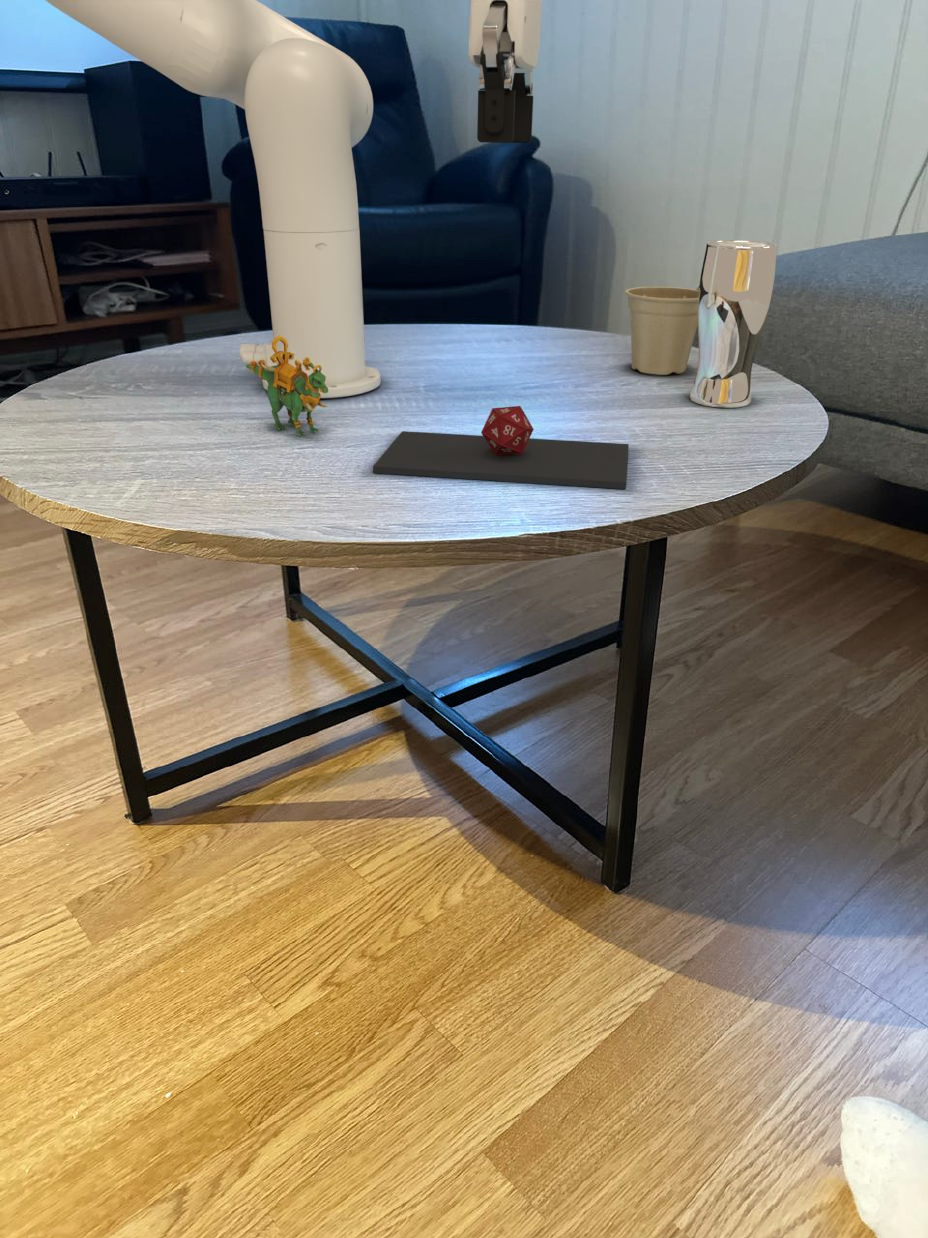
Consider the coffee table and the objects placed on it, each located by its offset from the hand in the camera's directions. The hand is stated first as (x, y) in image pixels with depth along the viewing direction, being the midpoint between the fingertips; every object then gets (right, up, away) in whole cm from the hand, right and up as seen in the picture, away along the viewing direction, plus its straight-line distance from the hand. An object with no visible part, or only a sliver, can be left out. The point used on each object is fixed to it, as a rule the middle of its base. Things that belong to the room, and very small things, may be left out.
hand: (505, 142), depth 85 cm
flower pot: (+19, -16, +21) cm, 32 cm away
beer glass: (+23, -22, +9) cm, 33 cm away
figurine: (-20, -27, -1) cm, 34 cm away
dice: (0, -31, -10) cm, 33 cm away
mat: (0, -31, -9) cm, 33 cm away
